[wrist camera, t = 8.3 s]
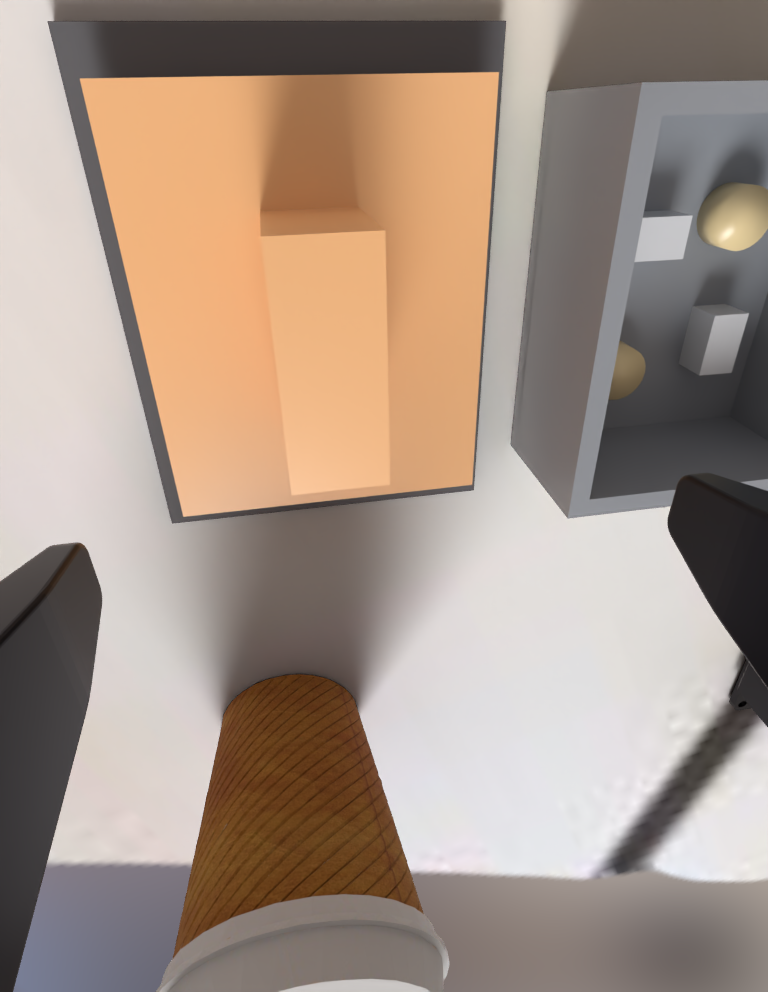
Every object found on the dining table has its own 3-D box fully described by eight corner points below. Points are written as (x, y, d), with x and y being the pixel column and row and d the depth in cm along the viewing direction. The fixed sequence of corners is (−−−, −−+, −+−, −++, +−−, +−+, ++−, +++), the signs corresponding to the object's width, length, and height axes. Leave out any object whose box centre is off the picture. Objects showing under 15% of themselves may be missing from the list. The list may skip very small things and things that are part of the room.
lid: (479, 75, 16) (570, 58, 11) (459, 462, 22) (513, 555, 17) (95, 82, 15) (19, 64, 10) (188, 491, 21) (167, 599, 16)
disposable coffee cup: (231, 803, 31) (218, 1130, 21) (148, 686, 26) (79, 1045, 16) (409, 748, 31) (480, 1046, 21) (362, 620, 26) (427, 934, 16)
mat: (499, 23, 16) (506, 21, 15) (469, 483, 23) (473, 490, 23) (53, 24, 14) (47, 21, 14) (173, 515, 22) (171, 523, 21)
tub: (833, 86, 18) (1005, 76, 14) (729, 422, 24) (828, 487, 20) (546, 91, 17) (641, 82, 13) (510, 444, 23) (568, 518, 19)
